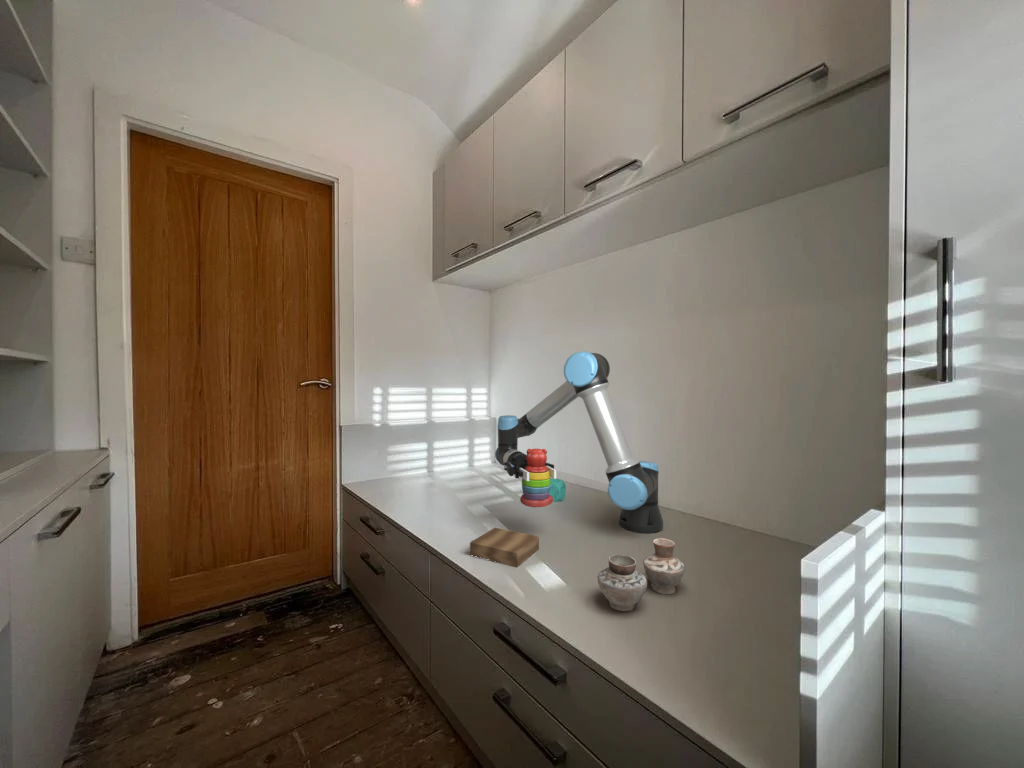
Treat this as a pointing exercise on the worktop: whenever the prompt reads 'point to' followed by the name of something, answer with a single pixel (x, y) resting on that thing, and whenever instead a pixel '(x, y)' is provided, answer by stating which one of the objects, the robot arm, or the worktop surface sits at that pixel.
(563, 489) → the decorative dice
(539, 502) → the stacking bear
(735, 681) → the worktop surface
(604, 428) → the robot arm
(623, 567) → the pottery
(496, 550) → the plinth
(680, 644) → the worktop surface
